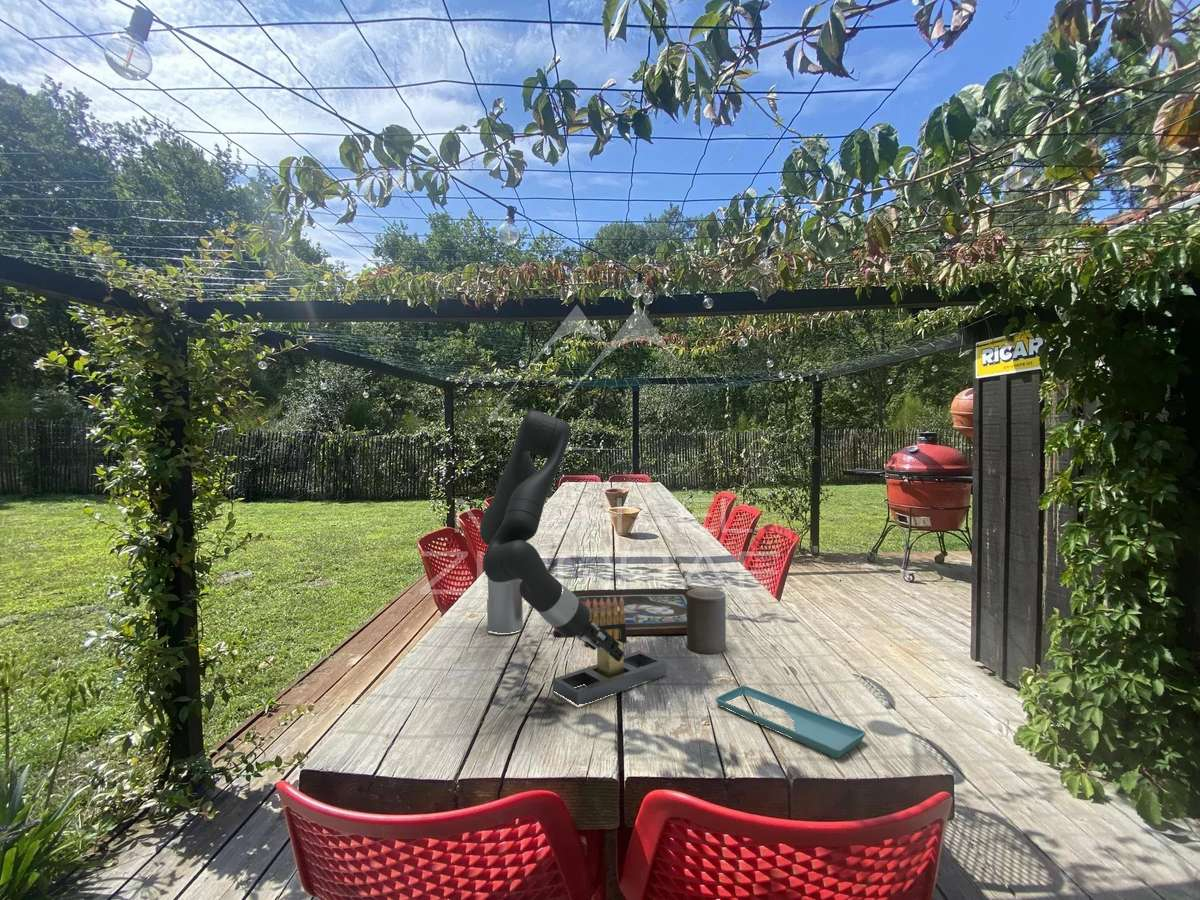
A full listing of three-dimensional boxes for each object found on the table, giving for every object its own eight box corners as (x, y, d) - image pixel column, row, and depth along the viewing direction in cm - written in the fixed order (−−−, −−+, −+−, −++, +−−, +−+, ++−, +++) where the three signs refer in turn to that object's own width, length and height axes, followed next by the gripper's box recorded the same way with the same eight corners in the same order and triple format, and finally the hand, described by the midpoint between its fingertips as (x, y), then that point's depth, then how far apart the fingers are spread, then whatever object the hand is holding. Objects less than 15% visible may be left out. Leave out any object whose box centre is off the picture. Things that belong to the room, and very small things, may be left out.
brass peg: (609, 689, 123) (608, 647, 123) (597, 683, 126) (596, 642, 126) (623, 684, 126) (623, 643, 126) (612, 678, 129) (611, 638, 129)
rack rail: (577, 708, 115) (577, 693, 115) (553, 692, 122) (552, 678, 122) (666, 675, 130) (666, 662, 130) (639, 663, 137) (639, 650, 137)
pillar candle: (683, 652, 143) (682, 591, 143) (690, 638, 152) (690, 581, 152) (723, 657, 140) (723, 595, 139) (728, 642, 149) (728, 584, 148)
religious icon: (723, 635, 154) (723, 624, 154) (553, 640, 155) (552, 629, 155) (700, 594, 194) (699, 585, 194) (564, 598, 195) (564, 589, 195)
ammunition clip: (625, 640, 152) (624, 594, 152) (626, 643, 150) (625, 596, 150) (584, 644, 150) (583, 598, 149) (586, 647, 148) (585, 600, 148)
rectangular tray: (713, 708, 115) (713, 696, 115) (743, 694, 121) (742, 682, 121) (839, 766, 95) (839, 751, 94) (867, 745, 100) (867, 731, 100)
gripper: (593, 601, 114) (639, 645, 121) (554, 587, 125) (597, 628, 133) (572, 634, 111) (620, 677, 118) (533, 616, 122) (579, 657, 130)
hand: (608, 651), depth 126 cm, fingers open, 8 cm apart
